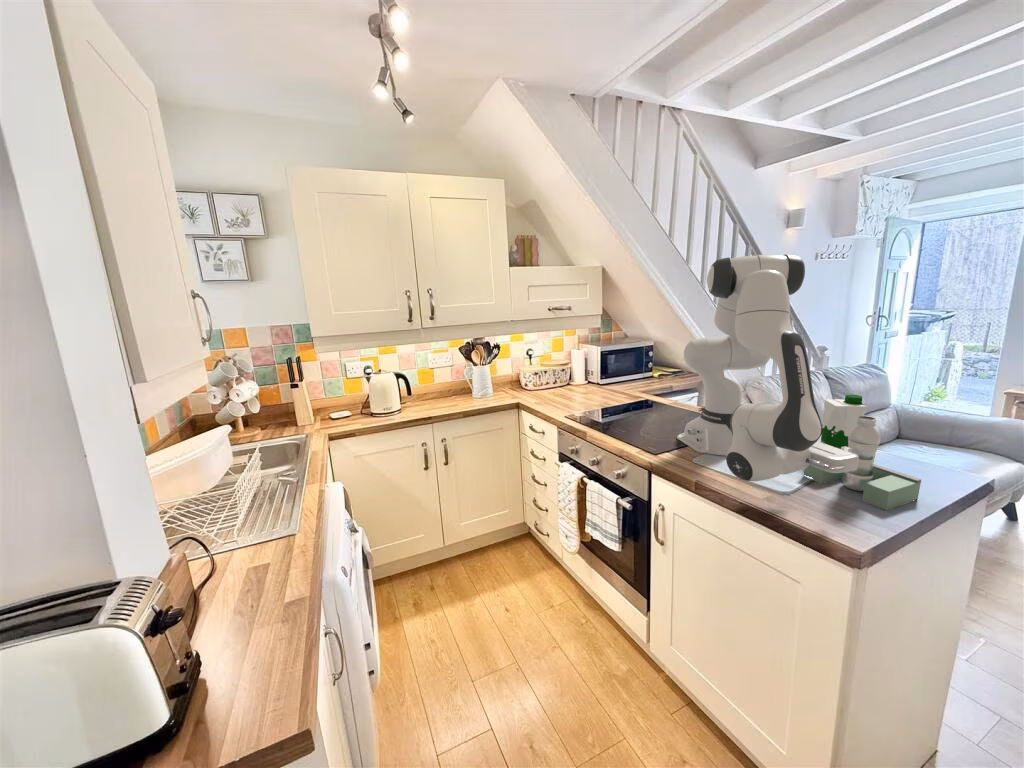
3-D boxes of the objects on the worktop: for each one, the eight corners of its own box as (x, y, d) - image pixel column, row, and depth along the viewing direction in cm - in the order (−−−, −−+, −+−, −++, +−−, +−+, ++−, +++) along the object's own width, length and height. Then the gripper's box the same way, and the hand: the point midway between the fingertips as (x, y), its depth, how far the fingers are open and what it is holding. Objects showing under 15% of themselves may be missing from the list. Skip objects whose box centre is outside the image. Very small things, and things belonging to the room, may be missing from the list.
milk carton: (862, 463, 119) (871, 400, 115) (827, 461, 122) (835, 399, 117) (847, 451, 128) (855, 392, 123) (814, 450, 130) (821, 392, 126)
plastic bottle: (838, 489, 106) (848, 419, 101) (842, 480, 110) (852, 412, 106) (870, 497, 101) (882, 423, 97) (873, 487, 106) (885, 416, 101)
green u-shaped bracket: (803, 476, 114) (805, 458, 112) (832, 468, 117) (834, 451, 116) (885, 510, 95) (889, 489, 94) (917, 499, 99) (921, 479, 97)
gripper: (836, 458, 85) (878, 446, 89) (752, 428, 104) (790, 419, 108) (832, 484, 86) (874, 471, 90) (750, 450, 105) (788, 441, 109)
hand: (828, 443), depth 99 cm, fingers open, 8 cm apart
